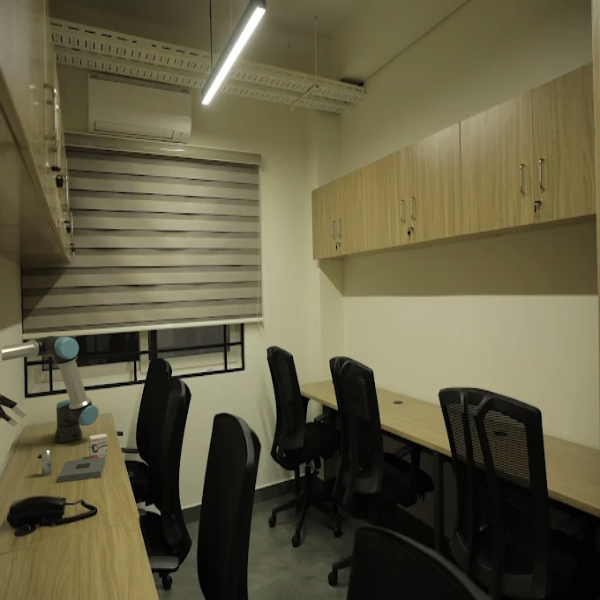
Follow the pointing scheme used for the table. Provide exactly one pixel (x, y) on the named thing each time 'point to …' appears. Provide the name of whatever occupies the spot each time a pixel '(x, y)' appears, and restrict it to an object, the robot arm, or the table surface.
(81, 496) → the table surface
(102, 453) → the ink box
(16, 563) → the table surface
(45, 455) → the steel pin
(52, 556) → the table surface
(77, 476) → the hole block
